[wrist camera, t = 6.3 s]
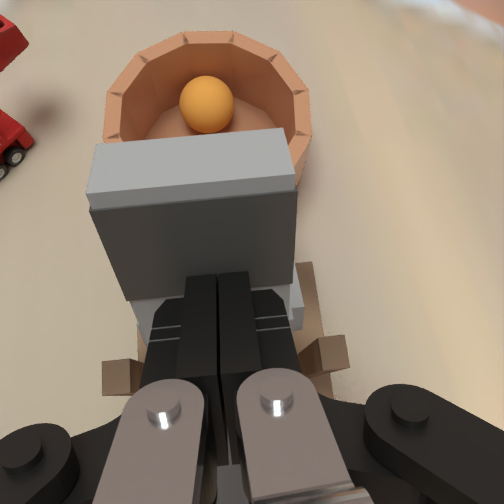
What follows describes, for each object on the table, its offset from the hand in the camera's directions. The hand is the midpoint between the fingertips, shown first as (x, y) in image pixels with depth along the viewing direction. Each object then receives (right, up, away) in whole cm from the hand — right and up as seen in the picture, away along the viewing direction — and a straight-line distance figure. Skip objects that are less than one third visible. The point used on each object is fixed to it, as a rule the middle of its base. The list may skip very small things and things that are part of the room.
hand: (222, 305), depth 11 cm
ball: (-3, +12, +22) cm, 25 cm away
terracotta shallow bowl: (-2, +8, +23) cm, 25 cm away
